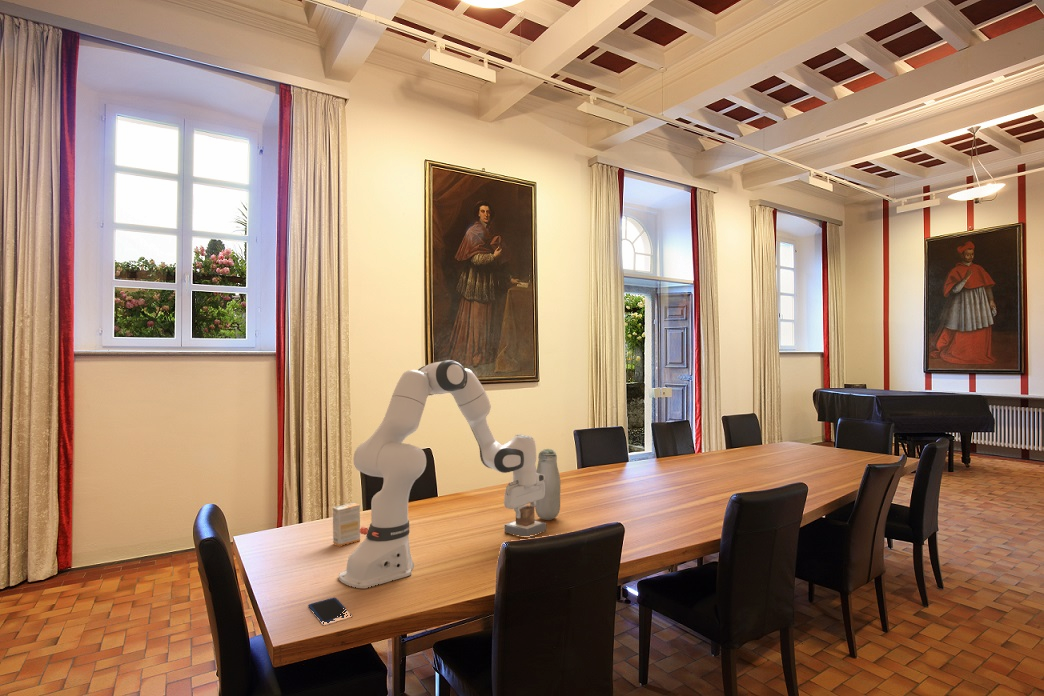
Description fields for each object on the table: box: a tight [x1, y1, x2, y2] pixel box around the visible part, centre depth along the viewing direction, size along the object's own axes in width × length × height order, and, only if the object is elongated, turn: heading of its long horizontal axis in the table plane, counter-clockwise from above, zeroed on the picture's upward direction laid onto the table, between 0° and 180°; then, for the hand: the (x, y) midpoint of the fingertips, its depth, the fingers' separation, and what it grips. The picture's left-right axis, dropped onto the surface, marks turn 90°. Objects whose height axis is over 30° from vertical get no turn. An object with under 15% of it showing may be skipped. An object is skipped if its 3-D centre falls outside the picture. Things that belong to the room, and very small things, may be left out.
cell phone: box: [307, 597, 351, 624], centre depth 138 cm, size 7×14×1 cm, turn 37°
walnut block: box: [515, 504, 536, 526], centre depth 200 cm, size 5×5×6 cm
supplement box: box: [332, 502, 361, 547], centre depth 190 cm, size 8×5×13 cm, turn 135°
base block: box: [504, 520, 547, 539], centre depth 200 cm, size 11×11×3 cm
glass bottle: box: [534, 448, 561, 521], centre depth 216 cm, size 10×10×28 cm
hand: (525, 515), depth 200 cm, fingers open, 6 cm apart
